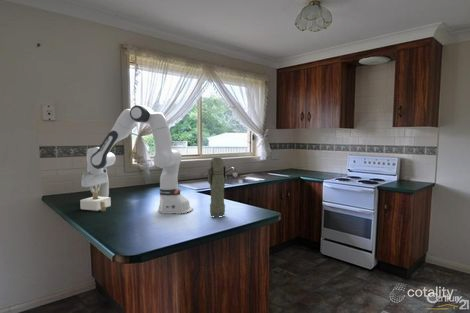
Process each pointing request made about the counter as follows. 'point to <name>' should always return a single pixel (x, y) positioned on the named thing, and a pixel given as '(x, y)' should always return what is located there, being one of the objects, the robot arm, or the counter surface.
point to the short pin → (103, 206)
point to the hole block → (94, 203)
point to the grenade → (217, 186)
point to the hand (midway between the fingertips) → (95, 191)
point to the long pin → (95, 194)
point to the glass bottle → (104, 188)
